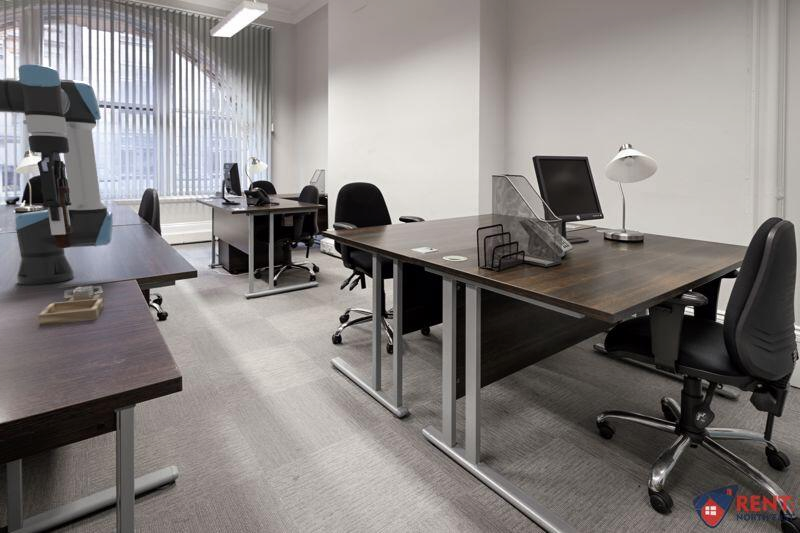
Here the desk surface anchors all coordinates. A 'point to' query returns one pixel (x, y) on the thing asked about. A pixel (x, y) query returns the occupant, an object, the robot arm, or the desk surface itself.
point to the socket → (72, 311)
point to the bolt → (64, 239)
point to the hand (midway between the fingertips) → (61, 232)
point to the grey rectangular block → (83, 293)
